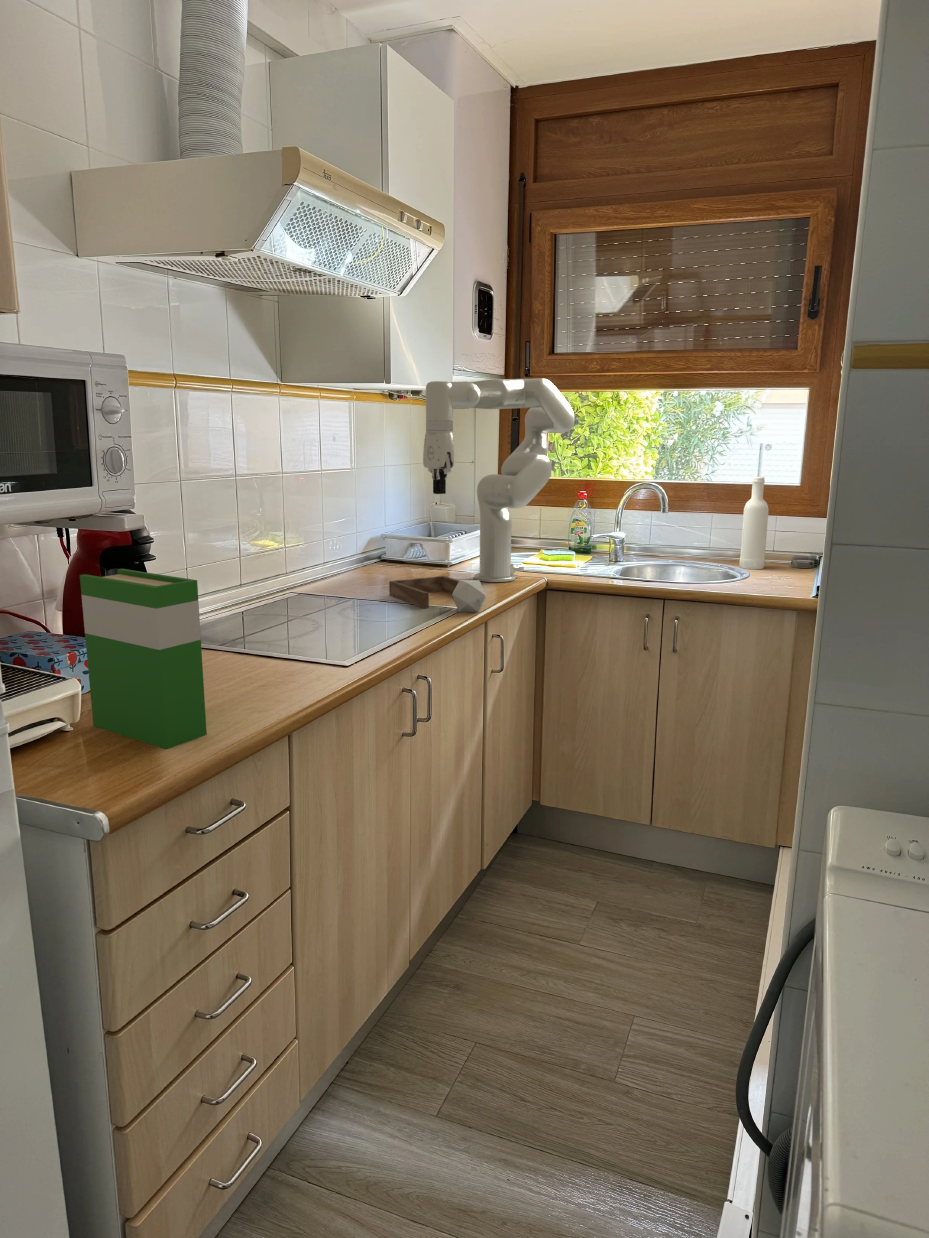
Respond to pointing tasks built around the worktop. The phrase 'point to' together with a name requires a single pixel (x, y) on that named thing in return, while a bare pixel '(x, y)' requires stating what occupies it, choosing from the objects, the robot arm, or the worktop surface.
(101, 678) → the hardback book
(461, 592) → the die
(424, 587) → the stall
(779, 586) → the worktop surface
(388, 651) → the worktop surface
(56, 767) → the worktop surface
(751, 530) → the bottle
